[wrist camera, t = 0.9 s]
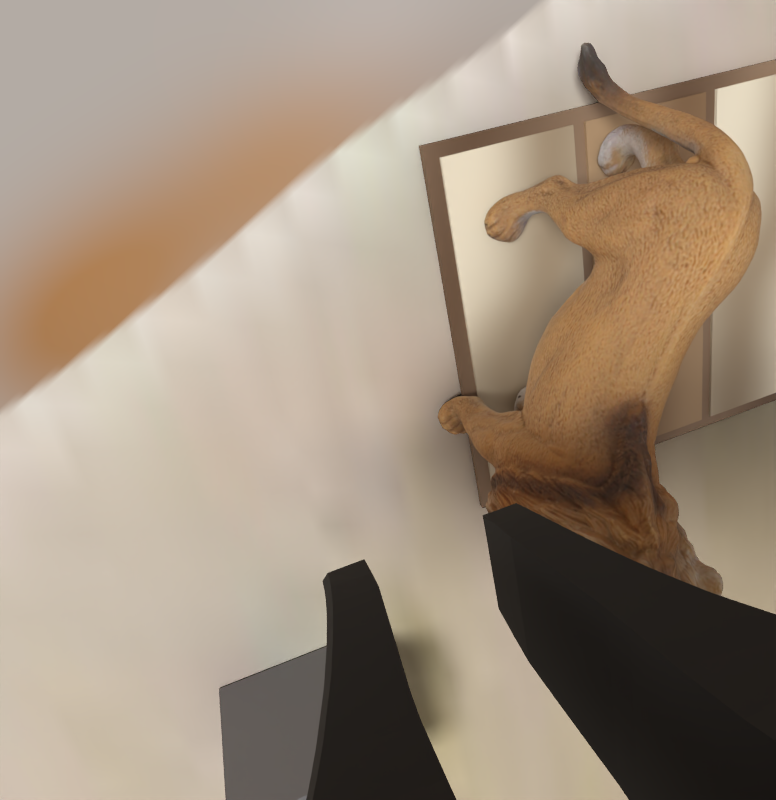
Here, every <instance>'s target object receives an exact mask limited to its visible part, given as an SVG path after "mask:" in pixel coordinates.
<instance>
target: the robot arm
mask: <svg viewBox="0 0 776 800" xmlns="http://www.w3.org/2000/svg"><path fill="white" fill-rule="evenodd" d="M483 519H484V525H485V531H486V536H487V542H488V548H489V554H490V560H491V566H492V572H493V578H494V583H495V589H496V595H497V601H498V607H499V610H500V612H501V613H502V615H503V617H504V619H505V621H506V622H507V624H508V626H509V628H510V630H511V631H512V633H513V635H514V637H515V639H516V640H517V642H518V644H519V645H520V647H521V649H522V651H523V652H524V654H525V656H526V658H527V659H528V661H529V663H530V664H531V665H532V667H533V668H534V670H535V671H536V672H537V674H538V675H539V677H540V678H541V679H542V681H543V682H544V683H545V685H546V686H547V688H548V689H549V690H550V692H551V693H552V694H553V696H554V697H555V699H556V700H557V701H558V703H559V704H560V705H561V707H562V708H563V709H564V711H565V712H566V714H567V715H568V716H569V718H570V719H571V720H572V722H573V723H574V724H575V726H576V727H577V728H578V730H579V731H580V733H581V734H582V735H583V737H584V738H585V739H586V741H587V742H588V743H589V745H590V746H591V747H592V749H593V750H594V752H595V753H596V754H597V756H598V757H599V758H600V760H601V761H602V762H603V764H604V765H605V767H606V768H607V769H608V771H609V772H610V773H611V775H612V776H613V777H614V779H615V780H616V781H617V783H618V784H619V786H620V787H621V789H622V790H623V791H624V793H625V794H626V796H627V797H628V799H629V800H776V614H773V613H770V612H767V611H764V610H761V609H758V608H755V607H752V606H749V605H746V604H743V603H740V602H737V601H734V600H731V599H728V598H725V597H722V596H720V595H717V594H714V593H711V592H709V591H706V590H703V589H701V588H698V587H696V586H693V585H691V584H689V583H686V582H684V581H681V580H679V579H676V578H674V577H671V576H669V575H666V574H664V573H661V572H659V571H657V570H654V569H652V568H650V567H647V566H645V565H643V564H641V563H638V562H636V561H634V560H632V559H629V558H627V557H625V556H623V555H621V554H619V553H616V552H614V551H612V550H610V549H608V548H606V547H604V546H602V545H599V544H597V543H595V542H593V541H591V540H589V539H587V538H585V537H583V536H581V535H579V534H577V533H575V532H573V531H571V530H569V529H567V528H565V527H563V526H561V525H559V524H557V523H555V522H553V521H551V520H549V519H547V518H545V517H543V516H541V515H539V514H538V513H536V512H534V511H532V510H530V509H528V508H526V507H524V506H521V505H519V504H517V503H515V504H512V505H510V506H507V507H504V508H501V509H499V510H496V511H493V512H491V513H488V514H485V515H483ZM323 585H324V590H325V597H326V607H327V648H326V664H325V679H324V690H323V699H322V706H321V714H320V721H319V729H318V736H317V744H316V750H315V756H314V762H313V767H312V773H311V778H310V783H309V789H308V794H307V798H306V800H456V798H455V796H454V793H453V791H452V789H451V787H450V785H449V782H448V780H447V778H446V776H445V774H444V771H443V769H442V767H441V765H440V762H439V760H438V758H437V756H436V753H435V751H434V749H433V747H432V744H431V742H430V740H429V738H428V735H427V733H426V731H425V729H424V726H423V724H422V722H421V720H420V717H419V714H418V712H417V709H416V706H415V703H414V700H413V698H412V695H411V692H410V689H409V686H408V682H407V679H406V676H405V672H404V669H403V666H402V662H401V659H400V656H399V652H398V649H397V646H396V642H395V639H394V636H393V632H392V629H391V626H390V622H389V619H388V616H387V613H386V609H385V606H384V603H383V599H382V596H381V593H380V589H379V586H378V584H377V582H376V580H375V578H374V576H373V575H372V573H371V571H370V569H369V567H368V565H367V563H366V562H365V560H361V561H359V562H356V563H353V564H351V565H348V566H345V567H343V568H340V569H337V570H335V571H332V572H329V573H327V575H326V577H325V578H324V580H323Z"/></svg>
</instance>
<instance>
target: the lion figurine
mask: <svg viewBox="0 0 776 800" xmlns="http://www.w3.org/2000/svg"><path fill="white" fill-rule="evenodd" d="M578 75H579V77H580V79H581V80H582V82H583V84H584V86H585V87H586V88H587V89H588V90H589V91H590V92H591V94H592V95H593V96H594V97H595V98H596V99H597V101H598V102H600V103H602V104H603V105H605V106H607V107H608V108H610V109H612V110H613V111H615V112H617V113H618V114H620V115H621V116H623V117H625V118H627V119H629V120H631V121H633V122H636V123H638V124H639V125H637V124H625V125H622V126H619V127H618V128H616V129H614V130H613V131H611V132H610V133H609V134H608V135H607V137H606V138H605V140H604V141H603V143H602V145H601V147H600V151H599V155H598V163H599V165H600V167H601V168H602V170H603V172H604V173H605V174H606V175H608V176H610V177H607V178H604V179H601V180H598V181H594V182H590V183H586V184H576V183H574V182H572V181H570V180H569V179H567V178H566V177H564V176H561V175H555V176H552V177H549V178H547V179H546V180H544V181H542V182H540V183H539V184H537V185H535V186H533V187H531V188H528V189H526V190H524V191H521V192H516V193H513V194H510V195H508V196H506V197H503V198H502V199H500V200H499V201H497V202H496V203H495V204H494V205H493V206H492V207H491V208H490V210H489V211H488V213H487V214H486V217H485V220H484V225H485V229H486V232H487V235H488V236H489V237H491V238H493V239H495V240H497V241H501V242H508V243H510V242H514V241H515V240H517V239H518V238H519V237H520V235H521V234H522V232H523V230H524V228H525V226H526V224H527V222H528V220H529V218H530V217H531V216H532V215H534V214H537V213H546V214H548V215H549V216H550V217H551V219H552V220H553V221H554V222H555V223H556V225H557V226H558V227H559V229H560V230H561V232H562V233H563V234H564V236H565V237H566V238H567V239H568V240H570V241H571V242H573V243H574V244H577V245H579V246H581V247H584V248H585V249H587V250H588V251H589V252H590V253H591V254H592V255H593V256H594V259H595V265H594V267H593V270H592V272H591V274H590V276H589V277H588V278H587V280H585V281H584V282H583V283H582V284H581V285H580V286H579V287H578V288H577V289H576V290H575V291H574V293H573V294H572V295H571V296H570V297H569V298H568V299H567V300H566V301H565V303H564V304H563V305H562V306H561V308H560V309H559V310H558V311H557V312H556V313H555V315H554V316H553V317H552V318H551V320H550V321H549V323H548V325H547V327H546V329H545V331H544V333H543V335H542V337H541V339H540V341H539V343H538V345H537V347H536V350H535V353H534V356H533V358H532V361H531V366H530V370H529V375H528V380H527V386H526V387H525V388H523V389H522V390H520V392H519V393H518V395H517V398H516V401H515V406H514V411H508V412H504V413H498V412H496V411H494V410H492V409H491V408H489V407H488V406H486V404H485V403H484V402H483V400H482V399H481V398H480V397H477V396H457V397H455V398H453V399H451V400H449V401H448V402H446V403H445V404H444V405H443V406H442V407H441V409H440V410H439V413H438V419H439V421H440V424H441V425H442V427H443V428H444V429H446V430H447V431H448V432H450V433H452V434H455V435H456V434H459V433H463V434H464V433H468V435H469V436H470V438H471V441H472V443H473V445H474V447H475V448H476V449H477V451H478V452H479V453H480V455H481V456H482V457H483V458H485V459H486V460H487V461H488V462H489V463H491V464H492V465H493V466H494V468H495V473H494V475H493V476H492V478H491V488H492V490H491V491H490V492H489V494H488V501H487V503H486V509H487V511H488V513H491V512H493V511H496V510H499V509H501V508H504V507H507V506H510V505H512V504H515V503H517V504H519V505H521V506H524V507H526V508H528V509H530V510H532V511H534V512H536V513H538V514H539V515H541V516H543V517H545V518H547V519H549V520H551V521H553V522H555V523H557V524H559V525H561V526H563V527H565V528H567V529H569V530H571V531H573V532H575V533H577V534H579V535H581V536H583V537H585V538H587V539H589V540H591V541H593V542H595V543H597V544H599V545H602V546H604V547H606V548H608V549H610V550H612V551H614V552H616V553H619V554H621V555H623V556H625V557H627V558H629V559H632V560H634V561H636V562H638V563H641V564H643V565H645V566H647V567H650V568H652V569H654V570H657V571H659V572H661V573H664V574H666V575H669V576H671V577H674V578H676V579H679V580H681V581H684V582H686V583H689V584H691V585H693V586H696V587H698V588H701V589H703V590H706V591H709V592H711V593H714V594H717V595H720V596H721V594H722V590H723V581H722V577H721V576H720V574H719V573H717V571H716V570H715V569H714V568H712V567H709V566H706V565H704V564H703V563H702V562H700V561H699V559H698V557H697V556H696V554H695V551H694V548H693V545H692V544H691V543H690V542H689V540H688V539H687V536H686V532H685V530H684V529H683V528H682V526H681V525H680V524H679V523H678V522H677V520H678V516H679V510H678V504H677V502H676V500H675V499H674V498H673V497H672V496H671V495H670V494H669V493H668V492H667V491H666V489H665V488H664V487H663V486H662V485H661V484H659V475H658V467H657V462H656V456H655V445H654V444H655V440H656V435H657V431H658V426H659V422H660V419H661V416H662V413H663V409H664V406H665V404H666V401H667V398H668V396H669V393H670V391H671V389H672V387H673V385H674V383H675V380H676V378H677V376H678V373H679V370H680V366H681V363H682V361H683V358H684V356H685V354H686V352H687V351H688V349H689V347H690V345H691V343H692V341H693V339H694V338H695V336H696V334H697V332H698V331H699V329H700V328H701V326H702V325H703V323H704V322H705V321H706V319H707V318H708V317H709V316H710V315H711V314H712V313H713V312H714V310H715V309H716V308H717V307H718V306H719V305H720V304H721V303H722V302H723V301H724V299H725V298H726V297H727V296H728V295H729V294H730V293H731V292H732V291H733V290H734V289H735V287H736V286H737V285H738V283H739V282H740V281H741V279H742V277H743V276H744V274H745V272H746V271H747V269H748V267H749V265H750V263H751V261H752V259H753V257H754V255H755V252H756V249H757V246H758V242H759V234H760V227H761V218H762V211H761V203H760V200H759V198H758V196H757V195H756V193H755V192H754V191H753V186H754V184H753V177H752V173H751V170H750V167H749V164H748V162H747V160H746V158H745V156H744V154H743V152H742V151H741V149H740V148H739V146H738V145H737V144H736V143H735V142H734V141H733V140H732V139H731V138H730V137H729V136H728V135H727V134H726V133H725V132H723V131H722V130H721V129H719V128H718V127H716V126H715V125H713V124H711V123H709V122H707V121H705V120H703V119H700V118H698V117H695V116H693V115H691V114H688V113H685V112H682V111H678V110H674V109H671V108H668V107H665V106H662V105H658V104H655V103H652V102H648V101H645V100H642V99H639V98H636V97H634V96H632V95H630V94H628V93H627V92H626V91H624V90H623V89H622V88H620V87H619V86H618V85H617V84H616V83H614V82H613V81H612V79H611V78H610V76H609V74H608V72H607V69H606V67H605V65H604V64H603V63H602V62H601V61H600V59H599V58H598V57H597V54H596V52H595V49H594V47H593V46H592V45H591V43H584V44H582V46H581V54H580V59H579V63H578ZM679 145H680V146H681V147H683V148H685V149H686V150H688V151H690V152H692V153H694V154H695V155H694V156H692V157H690V158H689V159H688V160H687V161H686V163H685V162H684V161H683V159H682V157H681V155H680V153H679ZM636 157H637V158H638V160H639V162H640V164H641V167H642V168H639V169H634V170H631V171H628V172H626V171H627V170H628V169H629V168H630V167H631V166H632V165H633V164H634V162H635V160H636ZM623 172H624V173H623Z"/></svg>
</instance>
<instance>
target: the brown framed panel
mask: <svg viewBox="0 0 776 800" xmlns="http://www.w3.org/2000/svg"><path fill="white" fill-rule="evenodd" d="M631 95H632V96H634V97H636V98H639V99H642V100H645V101H648V102H652V103H655V104H658V105H662V106H665V107H668V108H671V109H674V110H678V111H682V112H685V113H688V114H691V115H693V116H695V117H698V118H700V119H703V120H705V121H707V122H709V123H711V124H713V125H715V126H716V127H718V128H719V129H721V130H722V131H723V132H725V133H726V134H727V135H728V136H729V137H730V138H731V139H732V140H733V141H734V142H735V143H736V144H737V145H738V146H739V148H740V149H741V151H742V152H743V154H744V156H745V158H746V160H747V162H748V164H749V167H750V170H751V173H752V177H753V184H754V186H753V191H754V192H755V193H756V195H757V196H758V198H759V200H760V203H761V211H762V218H761V227H760V234H759V242H758V246H757V249H756V252H755V255H754V257H753V259H752V261H751V263H750V265H749V267H748V269H747V271H746V272H745V274H744V276H743V277H742V279H741V281H740V282H739V283H738V285H737V286H736V287H735V289H734V290H733V291H732V292H731V293H730V294H729V295H728V296H727V297H726V298H725V299H724V301H723V302H722V303H721V304H720V305H719V306H718V307H717V308H716V309H715V310H714V312H713V313H712V314H711V315H710V316H709V317H708V318H707V319H706V321H705V322H704V323H703V325H702V326H701V328H700V329H699V331H698V332H697V334H696V336H695V338H694V339H693V341H692V343H691V345H690V347H689V349H688V351H687V352H686V354H685V356H684V358H683V361H682V363H681V366H680V370H679V373H678V376H677V378H676V380H675V383H674V385H673V387H672V389H671V391H670V393H669V396H668V398H667V401H666V404H665V406H664V409H663V413H662V416H661V419H660V422H659V426H658V431H657V435H656V440H655V444H658V443H660V442H663V441H666V440H668V439H671V438H674V437H677V436H679V435H682V434H685V433H687V432H690V431H693V430H696V429H698V428H701V427H704V426H706V425H709V424H712V423H715V422H717V421H720V420H723V419H725V418H728V417H731V416H733V415H736V414H739V413H742V412H744V411H747V410H750V409H752V408H755V407H758V406H761V405H763V404H766V403H769V402H771V401H774V400H776V59H775V60H771V61H767V62H763V63H759V64H755V65H751V66H747V67H742V68H738V69H734V70H730V71H726V72H722V73H718V74H714V75H709V76H705V77H701V78H697V79H693V80H689V81H685V82H681V83H676V84H672V85H668V86H664V87H660V88H656V89H652V90H648V91H644V92H639V93H635V94H631ZM625 124H637V125H639V124H638V123H636V122H633V121H631V120H629V119H627V118H625V117H623V116H621V115H620V114H618V113H617V112H615V111H613V110H612V109H610V108H608V107H607V106H605V105H603V104H602V103H600V102H598V103H594V104H590V105H586V106H582V107H578V108H573V109H569V110H565V111H561V112H557V113H553V114H549V115H545V116H540V117H536V118H532V119H528V120H524V121H520V122H516V123H512V124H507V125H503V126H499V127H495V128H491V129H487V130H483V131H479V132H475V133H470V134H466V135H462V136H458V137H454V138H450V139H446V140H442V141H437V142H433V143H429V144H425V145H421V146H419V149H420V155H421V161H422V166H423V172H424V178H425V184H426V190H427V196H428V202H429V207H430V213H431V219H432V225H433V231H434V237H435V242H436V248H437V254H438V260H439V266H440V272H441V278H442V283H443V289H444V295H445V301H446V307H447V313H448V318H449V324H450V330H451V336H452V342H453V348H454V353H455V359H456V365H457V371H458V377H459V383H460V389H461V394H462V396H477V397H480V398H481V399H482V400H483V402H484V403H485V404H486V406H488V407H489V408H491V409H492V410H494V411H496V412H498V413H504V412H508V411H514V406H515V401H516V398H517V395H518V393H519V392H520V390H522V389H523V388H525V387H526V386H527V380H528V375H529V370H530V366H531V361H532V358H533V356H534V353H535V350H536V347H537V345H538V343H539V341H540V339H541V337H542V335H543V333H544V331H545V329H546V327H547V325H548V323H549V321H550V320H551V318H552V317H553V316H554V315H555V313H556V312H557V311H558V310H559V309H560V308H561V306H562V305H563V304H564V303H565V301H566V300H567V299H568V298H569V297H570V296H571V295H572V294H573V293H574V291H575V290H576V289H577V288H578V287H579V286H580V285H581V284H582V283H583V282H584V281H585V280H587V278H588V277H589V276H590V274H591V272H592V270H593V267H594V265H595V259H594V256H593V255H592V254H591V253H590V252H589V251H588V250H587V249H585V248H584V247H581V246H579V245H577V244H574V243H573V242H571V241H570V240H568V239H567V238H566V237H565V236H564V234H563V233H562V232H561V230H560V229H559V227H558V226H557V225H556V223H555V222H554V221H553V220H552V219H551V217H550V216H549V215H548V214H546V213H537V214H534V215H532V216H531V217H530V218H529V220H528V222H527V224H526V226H525V228H524V230H523V232H522V234H521V235H520V237H519V238H518V239H517V240H515V241H514V242H510V243H508V242H501V241H497V240H495V239H493V238H491V237H489V236H488V235H487V232H486V229H485V225H484V220H485V217H486V214H487V213H488V211H489V210H490V208H491V207H492V206H493V205H494V204H495V203H496V202H497V201H499V200H500V199H502V198H503V197H506V196H508V195H510V194H513V193H516V192H521V191H524V190H526V189H528V188H531V187H533V186H535V185H537V184H539V183H540V182H542V181H544V180H546V179H547V178H549V177H552V176H555V175H561V176H564V177H566V178H567V179H569V180H570V181H572V182H574V183H576V184H586V183H590V182H594V181H598V180H601V179H604V178H607V177H610V176H608V175H606V174H605V173H604V172H603V170H602V168H601V167H600V165H599V163H598V155H599V151H600V147H601V145H602V143H603V141H604V140H605V138H606V137H607V135H608V134H609V133H610V132H611V131H613V130H614V129H616V128H618V127H619V126H622V125H625ZM679 153H680V155H681V157H682V159H683V161H684V162H685V163H686V161H687V160H688V159H689V158H690V157H692V156H694V155H695V154H694V153H692V152H690V151H688V150H686V149H685V148H683V147H681V146H680V145H679ZM639 168H642V167H641V164H640V162H639V160H638V158H637V157H636V160H635V162H634V164H633V165H632V166H631V167H630V168H629V169H628V170H627V171H626V172H628V171H631V170H634V169H639ZM623 173H624V172H623ZM469 441H470V447H471V453H472V459H473V465H474V470H475V476H476V482H477V488H478V494H479V500H480V505H481V506H482V508H484V507H486V503H487V501H488V494H489V492H490V491H491V490H492V488H491V478H492V476H493V475H494V473H495V468H494V466H493V465H492V464H491V463H489V462H488V461H487V460H486V459H485V458H483V457H482V456H481V455H480V453H479V452H478V451H477V449H476V448H475V447H474V445H473V443H472V441H471V438H470V436H469ZM655 444H654V445H655Z"/></svg>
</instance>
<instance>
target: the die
mask: <svg viewBox="0 0 776 800" xmlns="http://www.w3.org/2000/svg"><path fill="white" fill-rule="evenodd" d="M326 648H327V646H326V647H323V648H321V649H318V650H316V651H313V652H311V653H308V654H306V655H303V656H301V657H298V658H296V659H293V660H291V661H288V662H285V663H283V664H280V665H278V666H275V667H273V668H270V669H268V670H265V671H263V672H260V673H258V674H255V675H252V676H250V677H247V678H245V679H242V680H240V681H237V682H235V683H232V684H230V685H227V686H225V687H222V688H220V689H219V696H220V712H221V729H222V746H223V762H224V779H225V795H226V800H306V798H307V794H308V789H309V783H310V778H311V773H312V767H313V762H314V756H315V750H316V744H317V736H318V729H319V721H320V714H321V706H322V699H323V690H324V679H325V664H326Z"/></svg>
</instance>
